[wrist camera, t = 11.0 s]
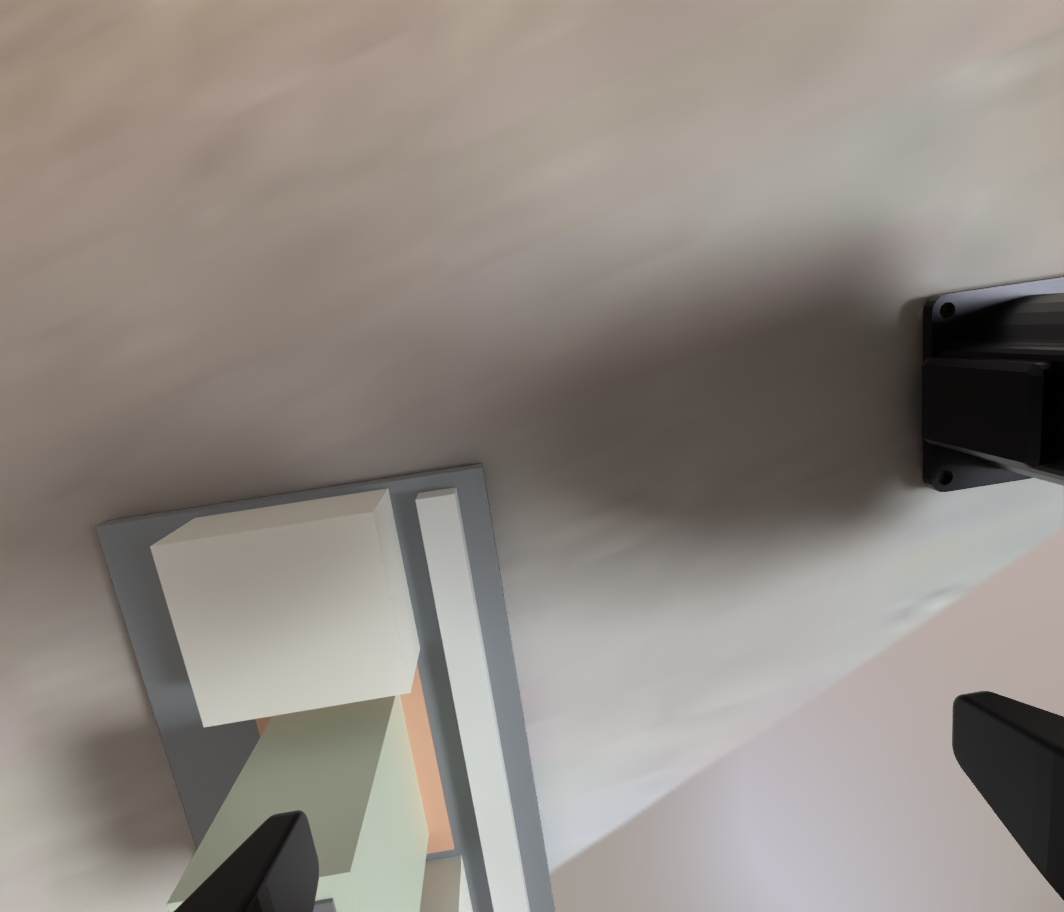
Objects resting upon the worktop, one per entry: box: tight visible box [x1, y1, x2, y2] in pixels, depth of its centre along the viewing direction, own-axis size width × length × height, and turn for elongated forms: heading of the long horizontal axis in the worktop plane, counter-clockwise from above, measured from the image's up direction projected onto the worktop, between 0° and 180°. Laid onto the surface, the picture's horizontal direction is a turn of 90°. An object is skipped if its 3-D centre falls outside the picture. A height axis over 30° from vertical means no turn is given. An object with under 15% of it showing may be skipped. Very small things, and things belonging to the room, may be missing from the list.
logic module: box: [167, 695, 429, 912], centre depth 17 cm, size 4×6×7 cm, turn 8°
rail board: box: [95, 464, 555, 912], centre depth 20 cm, size 12×20×3 cm, turn 8°
